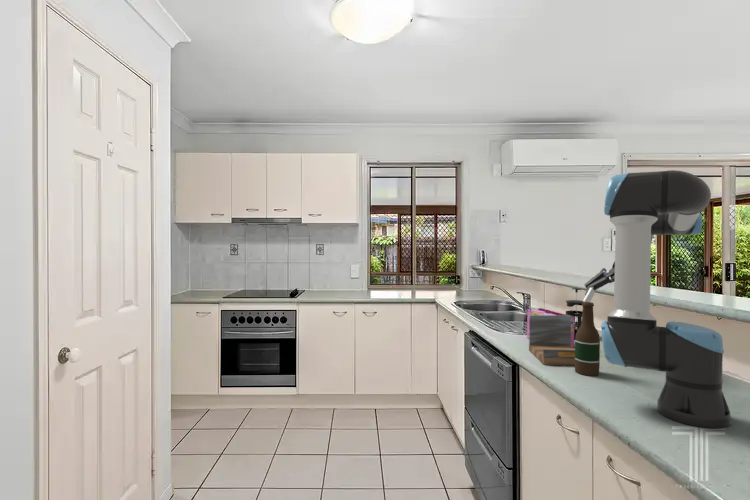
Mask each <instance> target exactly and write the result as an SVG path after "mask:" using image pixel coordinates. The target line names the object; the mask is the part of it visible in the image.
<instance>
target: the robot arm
mask: <svg viewBox="0 0 750 500" xmlns="http://www.w3.org/2000/svg"><path fill="white" fill-rule="evenodd" d="M711 197H712V192H711V188H710V186H709V185H708V184H707V183H706V182H705V181H704V180H703V179H702V178H700V177H699V176H696V175H695V174H693V173H690V172H688V171H683V170H674V169H670V170H662V171H661V170H660V171H642V172H628V173H621V174H620V173H619V174H615V175H613V176H612V177H610V178H609V180H608V184H607V187H606V193H605V199H604V208H603V210H604V211H603V212H604V215H606V216H608V217H609V222H611V224H613V225H614V227H615V237H614V238H615V239H614V240H615V243H614V249H615V250H614V254H615V255H614V261H613V263H612V265H611V266H612V267H611V268H610V269H609V270H608V269H606V268H605V267H603V268H602V269H601V270H600V271H599V272H598V273H596V274H595V275H594V276H592V277H591V278H590V279H589V280H588V281H586V282H585V283H584V287H585V288H586V291H585V293H584V298H583V300H582V301H583V302H592V300H593V297H594V296H595V294H596V290H599V289H600V288H602V287H604V286H606V285H607V284H612V283H613V282H614V289H613V310H612V311H611V312H609V313H608V314H607V318H606V319H607V320H604V321H602V322H601V325H600V327H601V340H602V341H601V342H602V347H603V353H604V357H605V359H606V361H607V362H608V363H610V364H612V365H616V366H622V367H624V368H627V367H629V368H635V369H643V370H649V371H657V372H665V381H664V385H663V387H662V389H661V392H660V394H659V396H658V399H657V406H656V407H657V411H658V412H659V413H660V414H661V415H662V416H664V417H666V418H668V419H670V420H673V421H676V422H678V423H681V424H686V425H689V426H694V427H695V426H696V427H701V428H708V429H709V428H710V429H721V428H727V427H729V426H730V425H731V423H732V422H731V421H732V419H731V418H732V417H731V411H730V408H729V406H728V403H727V401H726V397H725V395H724V392H723V354H724V353H725V350H724V344H723V340H724V339H723V336H722V335H721V334H720V333H719V332H718V331H716V330H714V329H712V328H709V327H706V326H703V325H702V326H701V325H699V324H698V325H697V324H693V323H688V322H682V321H668V322H667V323H666V324H665V326H660V325H659V326H658V325H657V320H658V319H657V318H656V317H655V316H654V315H653V314H652V313H651V269H652V268H651V267H652V266H651V263H652V261H651V257H652V247H651V246H652V240H653V239H654V236H666V235H667V236H671V235H672V236H678V235H679V236H683V235H684V236H691V235H699V234H701V232H702V229H703V216H702V214H701V212H703V211H704V210H705V209H706V208H707V207H708V206H709V204H710V202H711Z"/></svg>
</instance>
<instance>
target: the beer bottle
mask: <svg viewBox="0 0 750 500" xmlns="http://www.w3.org/2000/svg"><path fill="white" fill-rule="evenodd" d="M581 306H582V310H581V311H582V322H581V326H580V328H579V329H578V330H577V333H576V337H575V340H574V348H575V366H574V372H575V373H577V374H578V375H581V376H586V377H587V376H588V377H595V376H596V377H597V376H598V375H599V373H600V368H601V367H600V358H601V354H600V353H601V350H600V348H601V339H600V337H601V336H600V334H599V331H598V329H597V328H596V326H595V322H594V321H595V320H594V319H595V318H594V317H595V316H594V306H595V304H594V303H593V302H592V301H590V302H583V303H582V305H581Z"/></svg>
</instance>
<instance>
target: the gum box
mask: <svg viewBox="0 0 750 500" xmlns="http://www.w3.org/2000/svg"><path fill="white" fill-rule="evenodd" d="M529 315H563V316H569V315H566V313H561V312H557V311H554V310H549V309H546V308H541V307H540V308H537V309H530V308H527V319H526V322H527V323H526V324H527V325H526V327H527V328H526V332H527V333H526V335H527V336H526V338H527V339H529ZM574 318H575V320H574ZM574 321H575V322H576V317H573V316H571V346H572V347H573V348H575V340H574Z"/></svg>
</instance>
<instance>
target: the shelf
mask: <svg viewBox="0 0 750 500" xmlns="http://www.w3.org/2000/svg"><path fill="white" fill-rule="evenodd" d="M528 351H529V353H531V354H532V355H533V356H534V357H535V358H536V359H537V360H538V362H540V363H541V364H542V365H543V366H572V367H573V366H574V367H575V347H574V348H573V347H572V346H571V316H563V315H529V338H528Z"/></svg>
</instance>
